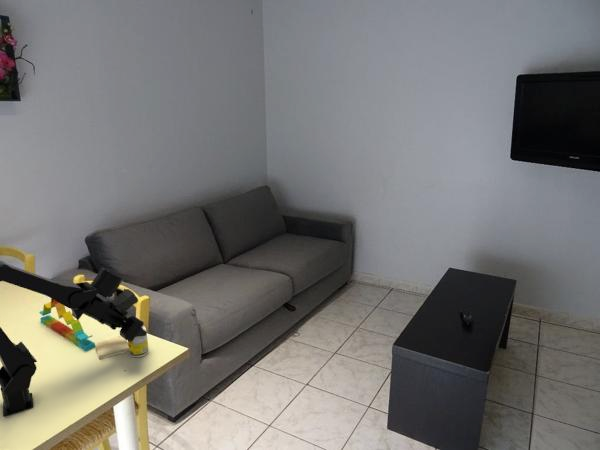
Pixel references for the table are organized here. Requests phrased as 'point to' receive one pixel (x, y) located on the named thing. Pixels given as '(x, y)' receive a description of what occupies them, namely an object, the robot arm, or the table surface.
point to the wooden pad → (111, 347)
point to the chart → (70, 334)
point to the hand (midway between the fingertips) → (141, 330)
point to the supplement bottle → (138, 345)
